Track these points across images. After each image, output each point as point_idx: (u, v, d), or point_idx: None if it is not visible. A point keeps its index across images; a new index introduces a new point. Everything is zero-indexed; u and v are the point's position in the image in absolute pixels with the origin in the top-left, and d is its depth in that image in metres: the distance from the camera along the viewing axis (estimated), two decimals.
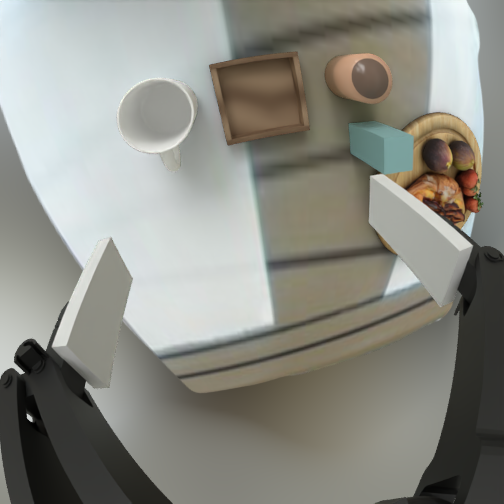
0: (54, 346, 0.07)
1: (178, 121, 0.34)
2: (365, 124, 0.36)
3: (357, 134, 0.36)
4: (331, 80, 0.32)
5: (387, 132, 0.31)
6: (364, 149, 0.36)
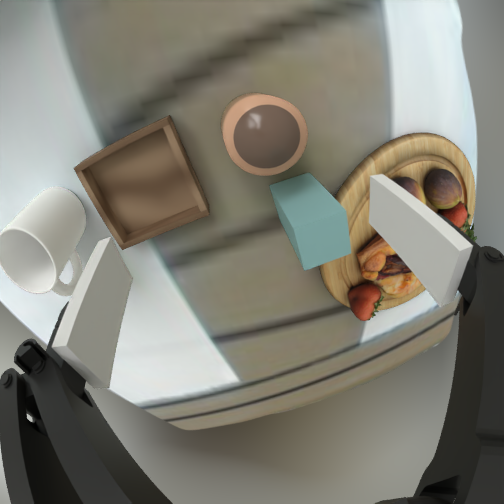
0: (54, 346, 0.07)
1: None
2: (289, 185, 0.30)
3: (277, 204, 0.30)
4: None
5: (308, 207, 0.26)
6: (285, 226, 0.30)
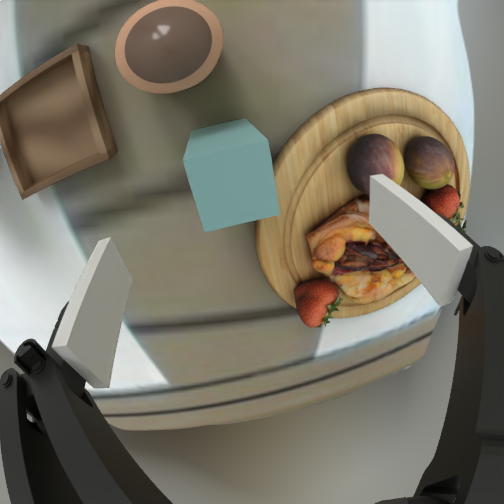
0: (54, 346, 0.07)
1: None
2: (213, 128, 0.22)
3: None
4: None
5: (219, 141, 0.17)
6: None
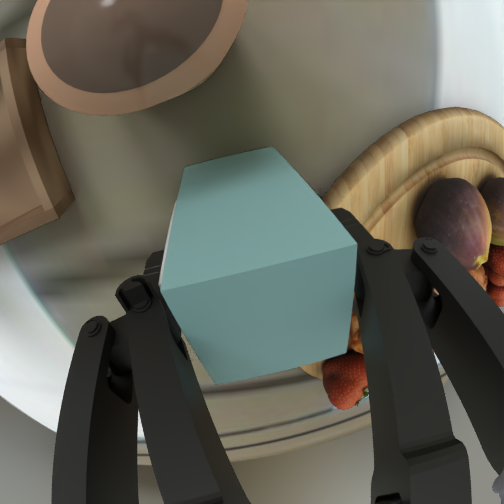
0: None
1: None
2: (221, 167, 0.13)
3: None
4: None
5: (238, 220, 0.09)
6: None
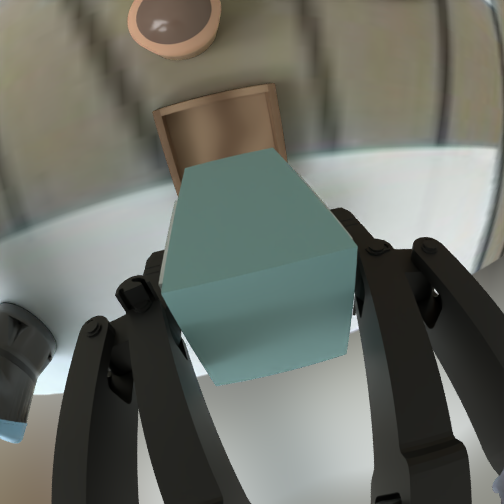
0: None
1: None
2: (221, 169, 0.13)
3: None
4: (190, 55, 0.20)
5: (239, 222, 0.09)
6: None
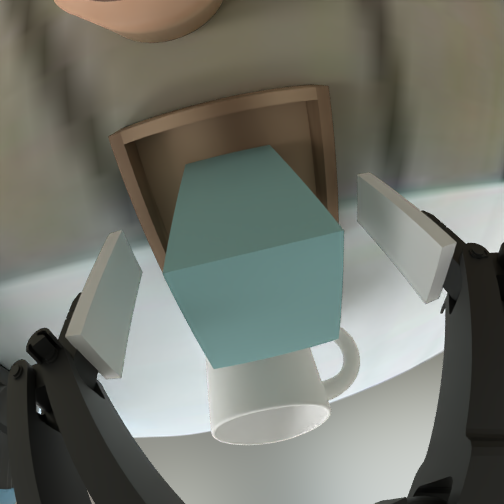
0: (68, 335, 0.07)
1: None
2: (220, 164, 0.14)
3: None
4: (175, 30, 0.10)
5: (235, 211, 0.09)
6: None
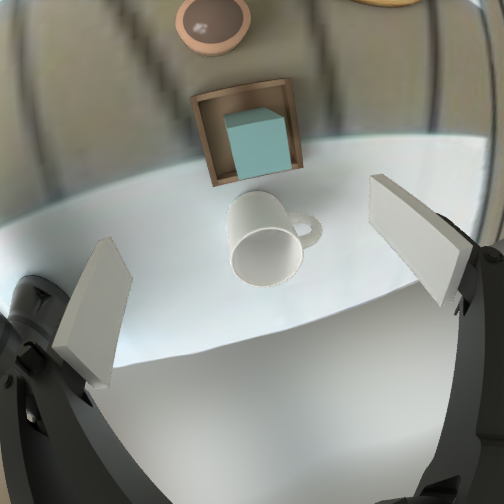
0: (54, 346, 0.07)
1: None
2: (241, 113, 0.29)
3: None
4: (222, 53, 0.24)
5: (249, 119, 0.24)
6: None
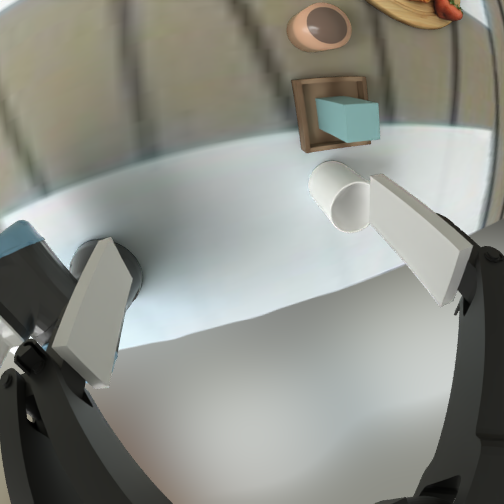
0: (54, 346, 0.07)
1: None
2: (332, 98, 0.35)
3: (322, 107, 0.35)
4: None
5: (350, 101, 0.31)
6: (329, 121, 0.35)
